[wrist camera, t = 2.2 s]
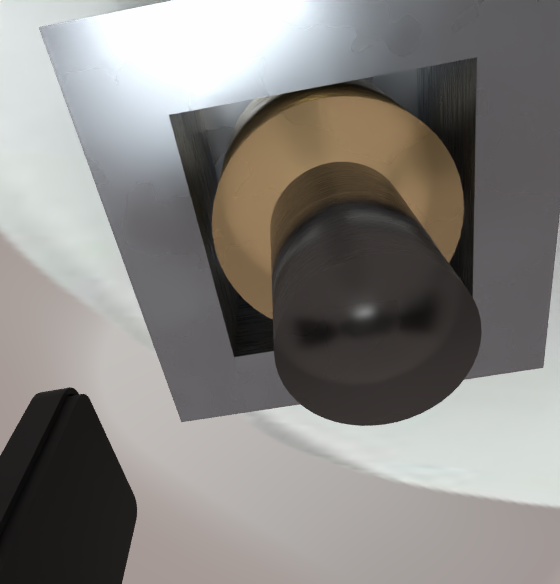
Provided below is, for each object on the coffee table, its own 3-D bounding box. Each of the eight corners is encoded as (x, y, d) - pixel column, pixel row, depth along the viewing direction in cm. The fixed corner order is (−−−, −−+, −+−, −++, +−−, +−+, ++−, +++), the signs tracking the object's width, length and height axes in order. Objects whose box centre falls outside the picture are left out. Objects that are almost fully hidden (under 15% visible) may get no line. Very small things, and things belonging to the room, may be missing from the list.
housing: (477, -55, 18) (590, -84, 12) (472, 274, 24) (543, 367, 18) (112, 18, 18) (38, 27, 12) (201, 318, 25) (181, 422, 19)
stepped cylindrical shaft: (407, 52, 18) (598, 119, 8) (415, 240, 22) (553, 454, 12) (205, 90, 19) (132, 201, 8) (245, 268, 22) (231, 500, 12)
